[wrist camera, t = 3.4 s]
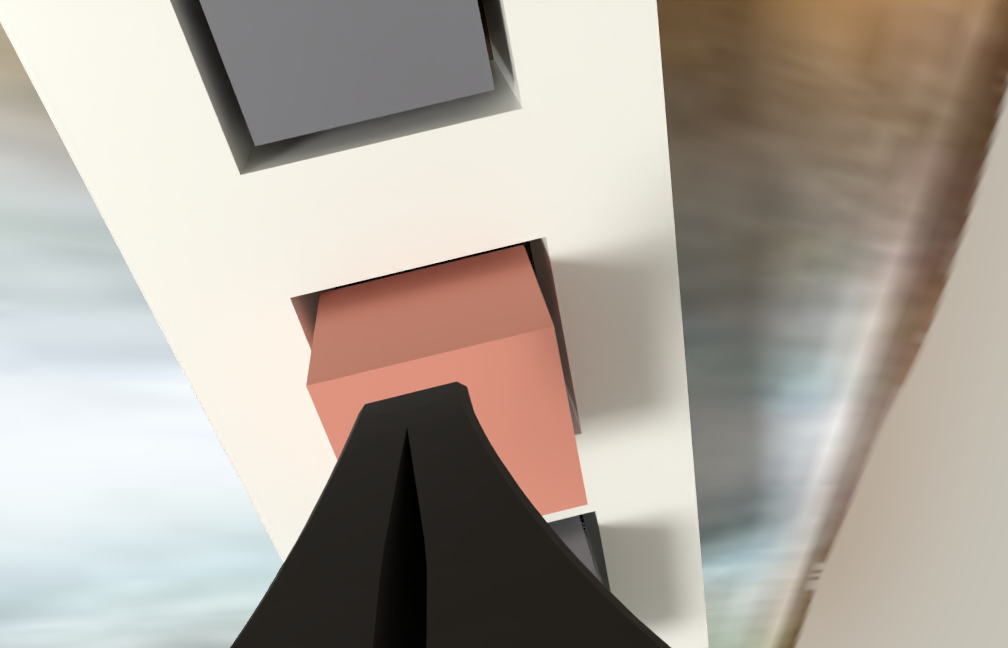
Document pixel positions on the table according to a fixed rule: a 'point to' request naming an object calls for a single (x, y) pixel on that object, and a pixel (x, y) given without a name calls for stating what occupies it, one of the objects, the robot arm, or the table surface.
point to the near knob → (345, 59)
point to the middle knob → (456, 362)
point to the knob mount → (402, 243)
